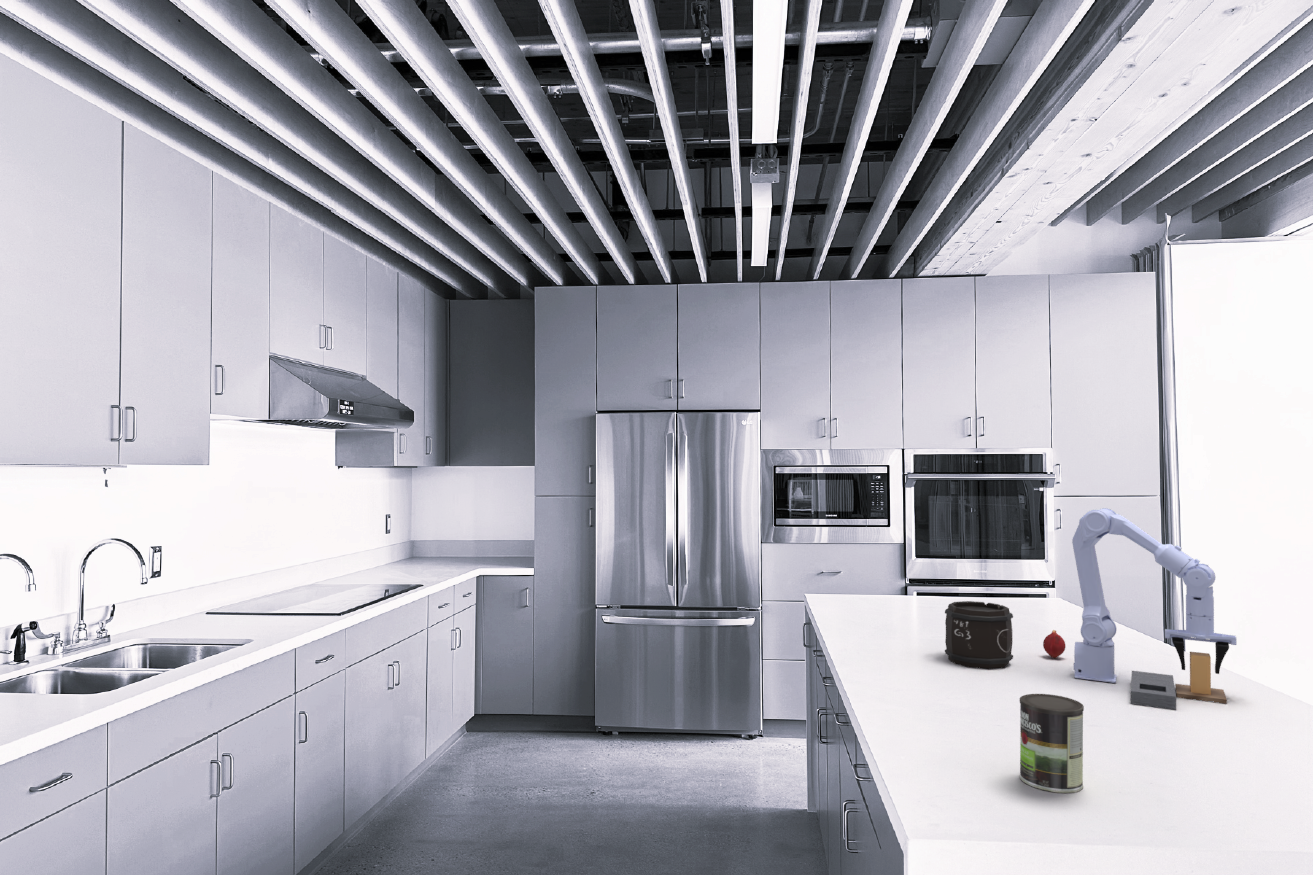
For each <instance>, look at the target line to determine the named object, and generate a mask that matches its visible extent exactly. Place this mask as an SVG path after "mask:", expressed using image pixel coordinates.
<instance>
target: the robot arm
mask: <svg viewBox="0 0 1313 875" xmlns="http://www.w3.org/2000/svg"><path fill="white" fill-rule="evenodd" d="M1107 534H1109V535H1115V536H1124V537H1125V538H1127V539H1129V540H1130V541H1132V542H1134V543H1135V544H1137V545H1138V546H1140V547H1141V548H1143V549H1145V550H1146V551H1147V552H1150V553H1151V554H1153V556H1154V560H1155V562H1156V563H1157V564H1158V565H1159V566H1161V567H1163V568H1164V569H1166V570H1167V571H1168V572H1170V573H1171V574H1173V575H1174V576H1176V577H1177V578H1179V579H1182V582H1183V584H1184V585H1185V586H1186V588H1185V589H1186V593H1185V629H1170V628H1169V629H1168V628H1165V629H1164V638H1165V639H1171V642H1172V644H1173V646H1174V648H1175V649H1176V650H1175V651H1176V653H1177V654H1178V657H1179V660H1180V666H1181V670H1182V671H1186V661H1185V640H1186V641H1196V642H1197V641H1198V642H1206V643H1207V642H1208V643H1214V644H1215V645H1214V646H1215V662H1214V663H1215V664H1214V673H1215V674H1217V675H1220V669H1221V666H1222V663H1223V661H1224V659H1225V656H1226V654H1227V653H1228V651H1229V649H1230V645H1232V646H1237V636H1236V635H1233V634H1232V635H1231V634H1225V633H1217V632H1215V619H1214V618H1215V617H1214V616H1215V612H1214V611H1215V609H1214V608H1215V607H1214V605H1215V597H1214V587H1213V585H1214V583H1215V581H1216V574H1215V572H1214V570H1213V569H1212V568H1211V567H1210V566H1209V564H1205V563H1200V562H1201V560H1200V559H1198V558H1195V559H1194V558H1193V557H1192V556H1190V555H1188V554H1187V553H1185V552H1184V551H1183V550H1182V547H1181V546H1180V545H1177V544H1176V545H1173V544H1172V543H1166V544H1163V543H1162V542H1159V540H1157V539H1156V538H1155V537H1153V536H1152V535H1150V534H1149V533H1147V532H1146V531H1145V530H1143V529H1142V528H1140V527H1139V526H1138V525H1136V524H1135V523H1133V521H1131V520H1129V519H1128V518H1126V517H1125V516H1123V515H1122V514H1120V513H1116V512H1115V511H1114V510H1112V508H1111V509H1110V508H1107V507H1106V508H1104V507H1103V508H1100V509H1091V510H1089V511H1087V512H1086V513H1085V514H1083V516H1081V517H1080V519H1079V522H1078V525H1077V528H1076V529H1075V531H1074V534H1073V537H1072V539H1071V540H1072V541H1071V544H1072V547H1073V548H1072V549H1073V554H1074V559H1075V565H1076V570H1077V575H1078V582H1079V588H1080V594H1081V599H1082V603H1083V610H1082V614H1081V620H1082V624H1081V626H1080V635H1081V637H1082V638H1083V640H1082V641H1075V642H1074V655H1073V656H1074V662H1073V670H1074V676H1073V677H1074V679H1081V680H1089V681H1096V682H1097V681H1098V682H1104V683H1105V682H1106V683H1112V684H1116V683H1117V674H1115V642H1114V641H1113V638H1114V637H1115V635H1116V634H1117V625H1116V623H1115V622H1114V620H1113V619H1112V617H1111V613H1110V610H1109V609H1108V607H1107V606H1106V602H1105V595H1104V590H1103V584H1102V579H1101V573H1100V568H1099V563H1098V557H1097V553H1096V545H1097V544H1098V543H1099V541H1101V539H1102V538H1103V537H1104V536H1106V535H1107Z"/></svg>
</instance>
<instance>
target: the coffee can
mask: <svg viewBox="0 0 1313 875" xmlns="http://www.w3.org/2000/svg"><path fill="white" fill-rule="evenodd" d="M1019 704H1020V707H1019V708H1020V709H1019V710H1020V720H1019V722H1020V724H1019V726H1020V730H1019V731H1020V737H1019V739H1020V740H1019V741H1020V742H1019V743H1020V747H1019V748H1020V750H1019V751H1020V752H1019V753H1020V758H1019V759H1020V760H1019V766H1020V767H1019V779H1020V780H1021V781H1022V782H1023V783H1024V784H1025V785H1028V786H1030V787H1032V788H1035V789H1038V790H1042V791H1045V792H1050V793H1057V794H1072V793H1073V794H1074V793H1078V792H1080V791H1082V790H1083V789H1084V781H1083V780H1084V779H1083V777H1084V774H1083V772H1084V770H1083V767H1084V762H1083V761H1084V760H1083V759H1084V756H1083V755H1084V751H1083V750H1084V749H1083V747H1084V744H1083V743H1084V741H1083V740H1084V735H1083V734H1084V710H1085V708H1084V707H1085V705H1084V704H1082V703H1081V702H1080V701H1078V700H1076V699H1073V698H1071V697H1067V696H1066V697H1065V696H1062V695H1055V694H1049V693H1048V694H1047V693H1029V694H1024V695H1021V696H1020V697H1019Z"/></svg>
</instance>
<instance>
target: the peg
mask: <svg viewBox="0 0 1313 875" xmlns="http://www.w3.org/2000/svg"><path fill="white" fill-rule="evenodd" d="M1211 660H1212V658H1211V655H1210V652H1209V653H1207V652H1199V651H1198V652H1197V651H1196V652H1195V651H1189V685H1190V690H1191V692H1193V693H1201V694H1209V695H1211V688H1212V687H1211V686H1212V682H1211V680H1212V679H1211V678H1212V677H1211V675H1212V673H1211V669H1212V668H1211V664H1212V663H1211V662H1212V661H1211Z"/></svg>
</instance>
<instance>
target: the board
mask: <svg viewBox="0 0 1313 875" xmlns="http://www.w3.org/2000/svg"><path fill="white" fill-rule="evenodd" d="M1174 687H1175V694H1176V699H1177V698H1179V699H1186V700H1193V699H1196V700H1195V701H1200V700H1202V702H1208V701H1214V702H1213V703H1216V702H1219V703H1218V704H1225V705H1227V704H1228V699H1227V696H1226V693H1225V690H1224V689H1222V688H1214V687H1211V695H1209V694H1201V693H1193V692H1191V690H1190V684H1189V685H1188V684H1181V683H1174Z"/></svg>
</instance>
